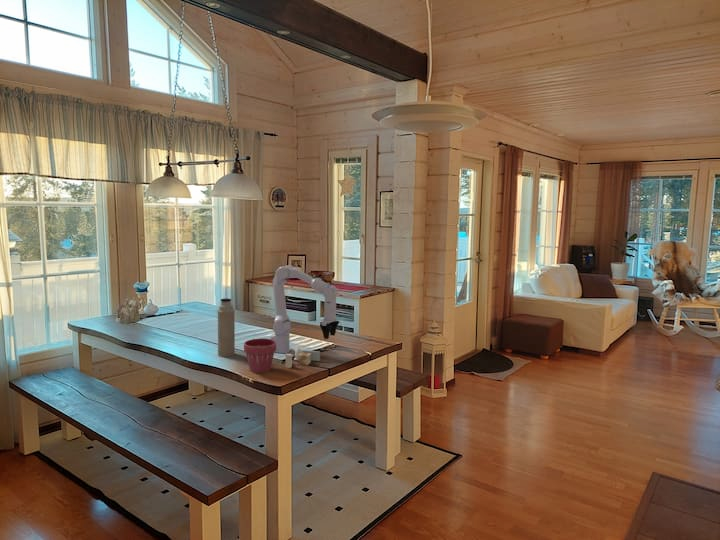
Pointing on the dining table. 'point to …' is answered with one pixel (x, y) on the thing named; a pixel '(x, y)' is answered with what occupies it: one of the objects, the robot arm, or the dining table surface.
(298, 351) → the gate post
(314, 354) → the gate
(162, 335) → the dining table surface
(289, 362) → the latch stile
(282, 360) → the dining table surface
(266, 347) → the plant pot
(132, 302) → the grey rough lump
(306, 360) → the block
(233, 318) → the thermos bottle
